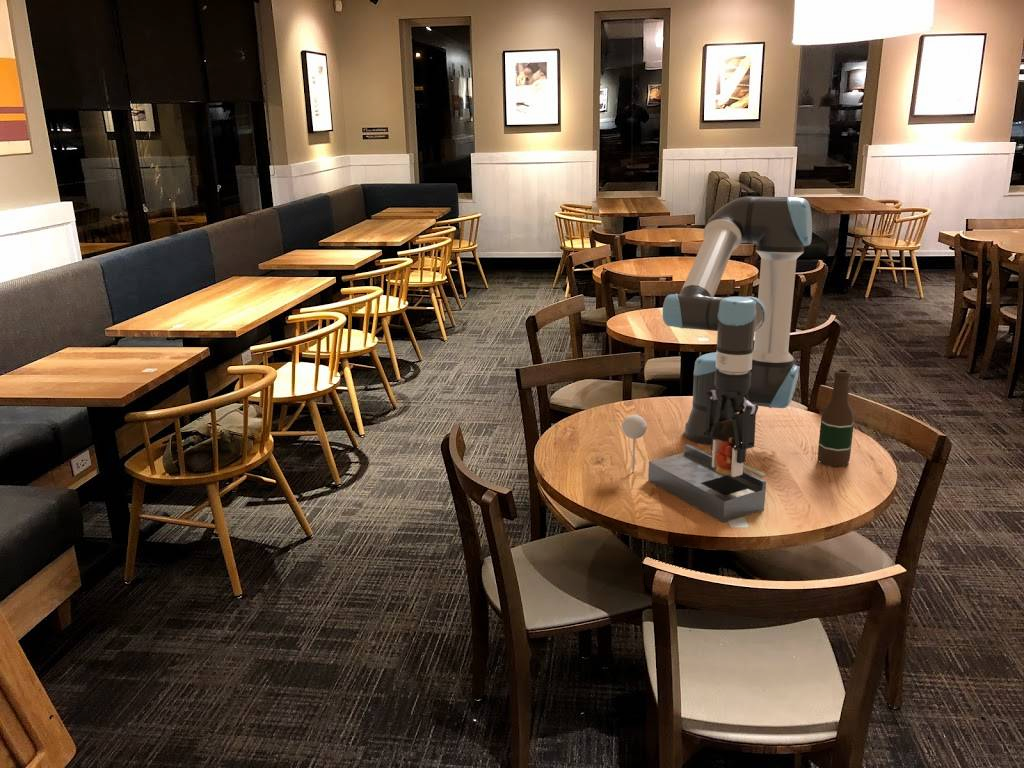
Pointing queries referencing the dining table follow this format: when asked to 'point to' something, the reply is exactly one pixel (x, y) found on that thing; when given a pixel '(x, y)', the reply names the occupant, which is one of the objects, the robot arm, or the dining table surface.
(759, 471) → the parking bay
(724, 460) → the figurine
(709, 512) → the grey box with compartment
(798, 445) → the dining table surface
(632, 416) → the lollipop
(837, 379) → the beer bottle
